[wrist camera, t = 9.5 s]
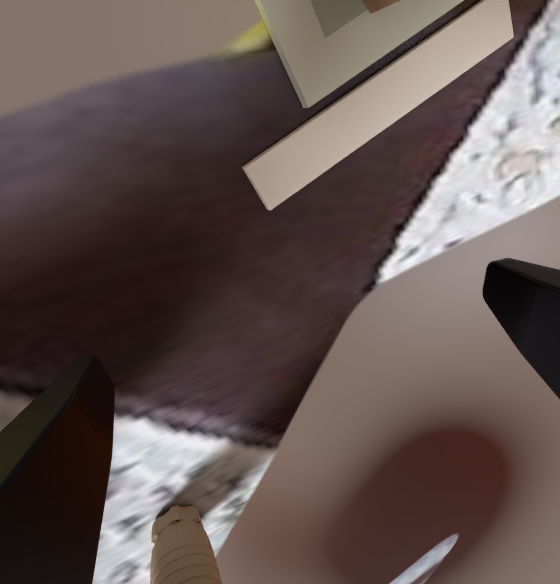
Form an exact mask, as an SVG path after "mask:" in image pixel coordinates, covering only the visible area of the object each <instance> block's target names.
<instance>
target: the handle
mask: <svg viewBox="0 0 560 584" xmlns="http://www.w3.org/2000/svg"><path fill="white" fill-rule="evenodd" d="M152 543H154V544H155V545H154V547H153V550H152V558H151V574H150V577H151V580H150V584H222V582H221V578H220V574H219V570H218V566H217V563H216V559H215V556H214V552H213V549H212V546H211V543H210V541H209V538H208V536H207V534H206V532H205V530H204V527H203V524H202V522H201V518H200V514H199V512H198V509H197V508H196V507H194V506H192V505H190V506H186V507H182V506H178V505H175V506H172V507H171V508H170V509H169V511H168V512H166V513H165V514H164V515H163V516H161V517H159V518H157V519H156V520H155V522H154V523H153V527H152Z"/></svg>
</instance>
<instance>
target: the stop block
mask: <svg viewBox="0 0 560 584" xmlns="http://www.w3.org/2000/svg"><path fill="white" fill-rule="evenodd" d="M362 1H363V3H364V4H365V6H366V8H367V9H368V11H369V12H370V14H371V13H374V12H376V11H378V10H381V9H383V8H385V7H387V6H390V5H392V4H394V3H396V2H399V1H401V0H362Z"/></svg>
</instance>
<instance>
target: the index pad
mask: <svg viewBox="0 0 560 584" xmlns="http://www.w3.org/2000/svg"><path fill="white" fill-rule="evenodd" d="M462 1H464V0H401V1H399V2H396V3H394V4H392V5H390V6H387V7H385V8H383V9H381V10H378V11H376V12H374V13H371V14H370V12H369V11H368V9H367V8H366V6H365V4H364V3H363V1H362V0H254V2H255V4H256V6H257V8H258V10H259V12H260V14H261V17H262V19H263V21H264V23H265V26H266V28H267V30H268V32H269V34H270V36H271V39H272V41H273V43H274V45H275V47H276V50H277V52H278V54H279V56H280V58H281V60H282V63H283V65H284V67H285V69H286V71H287V74H288V76H289V78H290V80H291V82H292V84H293V87H294V89H295V91H296V93H297V95H298V98H299V100H300V102H301V104H302V106H303V108H309V107H311V106H312V105H314V104H315V103H316V102H318V101H319V100H321V99H322V98H324V97H325V96H327V95H328V94H329V93H331V92H332V91H334V90H335V89H337V88H338V87H340V86H341V85H342V84H344V83H345V82H347V81H348V80H350V79H351V78H353V77H354V76H355V75H357V74H358V73H360V72H361V71H363V70H364V69H366V68H367V67H368V66H370V65H371V64H373V63H374V62H376V61H377V60H378V59H380V58H381V57H383V56H384V55H386V54H387V53H389V52H390V51H391V50H393V49H394V48H396V47H397V46H399V45H400V44H402V43H403V42H404V41H406V40H407V39H409V38H410V37H412V36H413V35H415V34H416V33H417V32H419V31H420V30H422V29H423V28H425V27H426V26H428V25H429V24H430V23H432V22H433V21H435V20H436V19H438V18H439V17H441V16H442V15H443V14H445V13H446V12H448V11H449V10H451V9H452V8H453V7H455V6H456V5H458V4H459V3H461V2H462Z"/></svg>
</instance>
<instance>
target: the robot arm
mask: <svg viewBox="0 0 560 584" xmlns="http://www.w3.org/2000/svg"><path fill="white" fill-rule="evenodd" d="M483 297H484V300H485V302H486V304H487V305H488V306H489V308H490V309H491V311H492V312H493V314H494V315H495V317H496V318H497V320H498V321H499V323H500V324H501V326H502V327H503V328H504V330H505V331H506V333H507V334H508V336H509V337H510V339H511V340H512V342H513V343H514V344H515V346H516V347H517V349H518V350H519V351H520V353H521V354H522V355H523V356H524V358H525V359H526V360H527V361H528V363H529V364H530V365H531V366H532V367H533V368H534V369H535V371H536V372H537V373H538V374H539V375H540V377H541V378H542V379H543V380H544V381H545V383H546V384H547V385H548V386H549V387H550V388H551V390H552V391H553V392H554V393H555V394H556V396H558V398H559V399H560V270H558V269H554V268H550V267H546V266H541V265H537V264H533V263H528V262H524V261H520V260H515V259H511V258H504V259H499V260H496V261H492V262H490V263H489V264H488V266H487V268H486V274H485V280H484V285H483ZM114 398H115V389H114V384H113V382H112V380H111V378H110V376H109V375H108V373H107V371H106V369H105V368H104V366H103V364H102V363H101V361H100V360H99V359H98V358H97V357H95V356H91V357H87V358H83V359H79V360H76V361H75V362H73V363H72V364H71V365H70V366H69V367H68V368H67V369H66V370H65V371H64V372H63V373H62V374H61V375H60V376H59V377H58V378H57V379H56V380H54V381H53V382H52V383H51V384H50V385H49V386H48V387H47V388H46V389H45V390H44V391H43V392H42V393H41V394H40V395H39V396H38V397H37V398H36V399H35V400H34V401H32V402H31V403H30V404H29V405H28V406H27V407H26V408H25V409H24V410H23V411H22V412H21V413H20V414H19V415H18V416H17V417H16V418H15V419H14V420H13V421H11V422H10V423H9V424H8V425H7V426H6V427H5V428H4V429H3V430H2V431H1V432H0V584H92V582H93V575H94V569H95V563H96V556H97V550H98V543H99V537H100V531H101V524H102V518H103V512H104V505H105V499H106V493H107V486H108V480H109V474H110V467H111V460H112V448H113V424H114Z"/></svg>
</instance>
